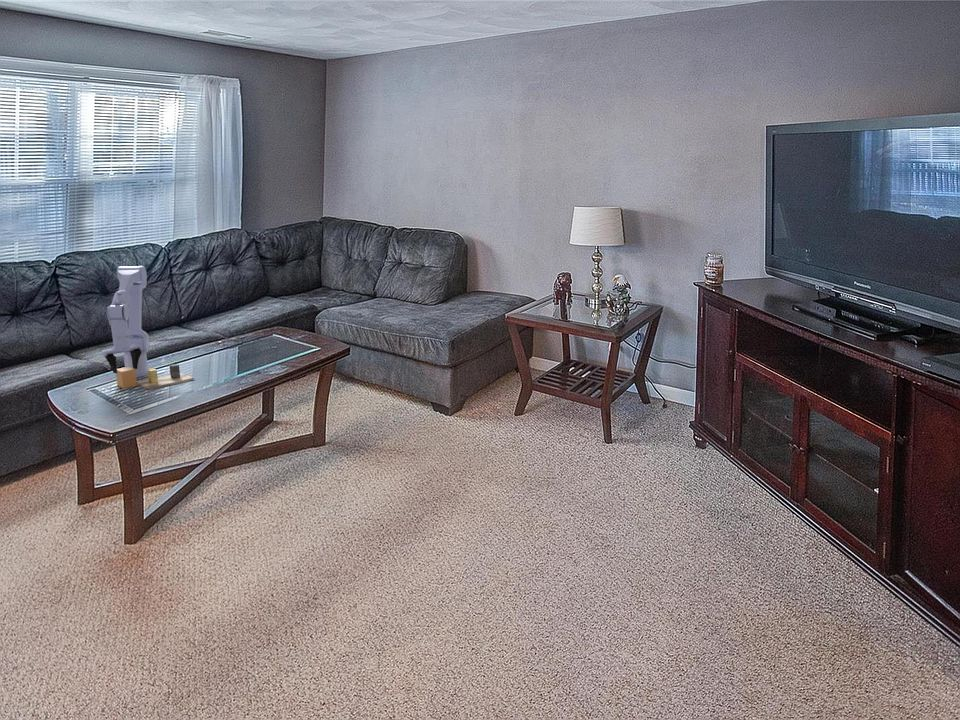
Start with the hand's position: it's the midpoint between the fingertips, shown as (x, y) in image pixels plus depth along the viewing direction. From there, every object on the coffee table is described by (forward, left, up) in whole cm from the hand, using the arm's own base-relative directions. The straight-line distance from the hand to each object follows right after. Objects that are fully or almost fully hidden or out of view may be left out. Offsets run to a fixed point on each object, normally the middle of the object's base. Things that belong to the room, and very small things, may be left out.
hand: (125, 370), depth 283 cm
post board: (+6, +12, -6) cm, 15 cm away
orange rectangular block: (0, 0, -6) cm, 6 cm away
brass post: (+6, +8, -6) cm, 11 cm away
